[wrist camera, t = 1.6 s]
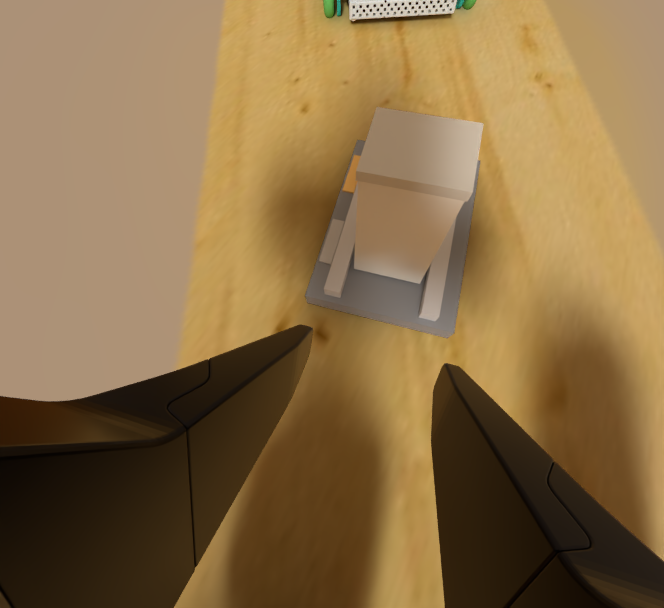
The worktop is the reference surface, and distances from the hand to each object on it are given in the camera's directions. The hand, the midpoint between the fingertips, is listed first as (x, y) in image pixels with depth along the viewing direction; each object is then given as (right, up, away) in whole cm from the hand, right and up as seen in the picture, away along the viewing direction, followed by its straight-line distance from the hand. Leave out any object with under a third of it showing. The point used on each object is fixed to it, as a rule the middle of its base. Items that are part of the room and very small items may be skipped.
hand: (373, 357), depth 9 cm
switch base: (+4, +8, +17) cm, 19 cm away
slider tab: (+3, +5, +15) cm, 16 cm away
